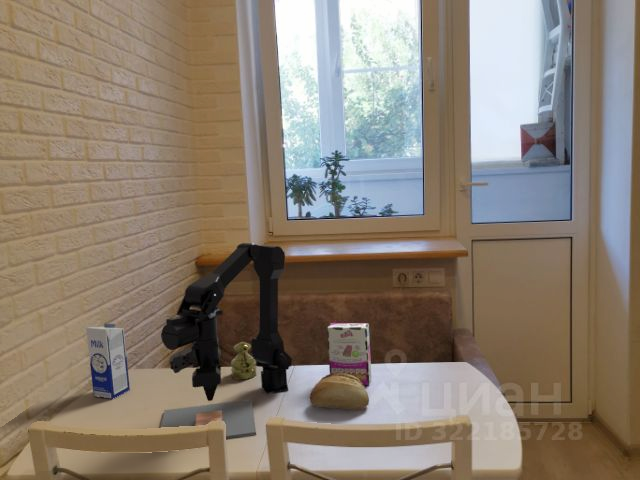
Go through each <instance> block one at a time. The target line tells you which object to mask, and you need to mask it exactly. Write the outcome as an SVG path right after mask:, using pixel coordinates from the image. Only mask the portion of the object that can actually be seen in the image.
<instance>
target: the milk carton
mask: <svg viewBox="0 0 640 480" xmlns="http://www.w3.org/2000/svg"><path fill="white" fill-rule="evenodd" d="M85 330H86V337H87V338H86V339H87V349H88V355H89V356H88V358H89V365H90V366H89V367H90V373H91V374H90V375H91V383H92V392H93V396H94V395H95V396H99V397H105V398H104V399H106V398H109V399H108V400H112V399H113V398H115V397H116V398H118V397H120V396H121V394H122V395H124V394H125V393H127V392H128V390H129V391H130V389H131V386H130V378H129V368H128V360H127V359H128V358H127V349H126V341H125V339H126V338H125V328H123V327H122V328H121V327H120V328H119V327H116V323H109V322H107V323H106V322H105V323H104V326H89V327H88V326H87V327H85ZM126 391H127V392H126ZM124 392H125V393H124ZM119 395H120V396H119ZM117 396H118V397H117ZM99 397H98V398H99ZM116 398H115V399H116ZM113 400H114V399H113Z"/></svg>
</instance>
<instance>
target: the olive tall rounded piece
mask: <svg viewBox="0 0 640 480" xmlns="http://www.w3.org/2000/svg"><path fill="white" fill-rule="evenodd" d="M251 349H252V344H250V343H248V342H245V341H240V342H239V343H237V344H235V345H234V346H233V350H235V351H236V352H237V353H238V354H237V355H236V356H235V357H234V358H233V359H232V360H231V361H230V366H231V370H230V371H231V377H232V378H233V379H235V380H239V379H244V380H248V378H249V379H252V378H254V377H256V375H257V364H256V361H255V359H253V356H252V355H250V353H248V352H249V350H251ZM251 377H252V378H251Z"/></svg>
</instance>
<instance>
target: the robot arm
mask: <svg viewBox="0 0 640 480" xmlns="http://www.w3.org/2000/svg"><path fill="white" fill-rule="evenodd" d="M285 260H286V254H285V250H283V248H282V247H281V246H280V245H279V246H278V245H258V244H256V243H253V242H252V243H251V242H241V243H239V244H238V245H237V247H236V249H234V251H233V252H232V253H231V254H229V255H228V257H226V258H225V259H224V260H223V261H222V262H221V263H220V264H219V265H218V266H217V267H216V268H215V269H214V270H213V271H212V272H211V273H210V274H208V275H206V276H204V277H200V278H199V279H197V280H195V281H193V282H192V283H191V284H189V285H188V286H187V287H186V289H185V291H184V296H183V298H182V300H181V302H180V305H179V308H178V309H177V312H176V316H175V317H170V318H166V321H165V322H166V325H164V326H163V327H162V330H161V333H160V338H161V341H162V343H163V345H164V347H166V349H168V350H170V351H175V350H177V349H180V348H183V347H184V346H185V347H186V346H187V345H191V344H192V345H191V346H190V347H186V348H184V349H182V350H180V351H177V352H175V353H173V354H171V355H170V356H169V360H168V364H169V365H170V369H171V370H172V371H173V373H174V374H178V373H180V372H181V371H183V370H185V369H186V368H189V367H190V366H192V368H193V369H195V370H194V371H193V373H192V377H191V385H192V387H193V388H201V387H202V388H203V391H204V393H205V396H206V399H207V401H208V402H210V401H213V399H214V396H215V394H216V391H217V389H218V388H217V387H218V385H221V384H222V372H221V370H222V368H221V367H222V366H221V365H220V361H221V360H222V354H221V351H222V350H221V349H220V348H219V337H218V326H217V325H218V323H217V317H218V316H221V315H223V313H224V311H223V310H221V309H220V308H218V305H219V303H220V302H221V300H222V299H223V298H224V296H225V289H226V288H227V287H228V285H230V284H231V283H232V282H233V281H234V280H235V279H236V278H237V277H238V276H239V274H241V272H243V270H244V269H245V268H247V266H248V265H249V264H251V262H252V264H253V269H254V271H255V273H256V275H257V277H258V279H259V297H258V298H259V300H258V301H259V306H258V307H259V308H258V309H259V312H258V314H259V319H258V321H259V322H258V324H259V331H258V332H257V335H256V337H255V338H252V339H251V342H250V343H251V349H250V350H251V351H250V353H251V354H252V357H253V359H255V361H256V364H255V365H256V367H260V368H261V367H262V370H261V371H260V379H261V382H260V384H261V388H262V389H263V391H264V393H265V394H268V393H269V394H270V393H277V392H278V393H279V392H285V391H288V390H289V386H288V377H287V370H289V369H290V367H292V361H293V358H292V357H291V356H290V355H289V354H288V353H287V352H286V351H285V345H284V340H283V338H282V336H281V335H280V332H279V330H278V328H279V327H278V326H279V324H278V323H279V314H278V313H279V278H280V276H281V274H282V273H283V271H284V267H285Z"/></svg>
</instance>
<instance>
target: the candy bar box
mask: <svg viewBox="0 0 640 480" xmlns="http://www.w3.org/2000/svg"><path fill="white" fill-rule="evenodd" d="M369 324H370V323H368V322H366V323H365V322H357V323H356V322H346V323H345V322H343V323H342V322H341V323H340V322H330V323H329V325H328V326H327V328H326V330H327V331H326V333H327V346H328V348H327V349H328V364H329V374H334V373H344V374H350V375H353V376H355V377H356V378H358V379H359V380H360V381H361V382H362V383H363V386H370V383H371V382H372V381H371V380H372V363H371V345H370V344H371V343H370V325H369Z"/></svg>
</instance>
